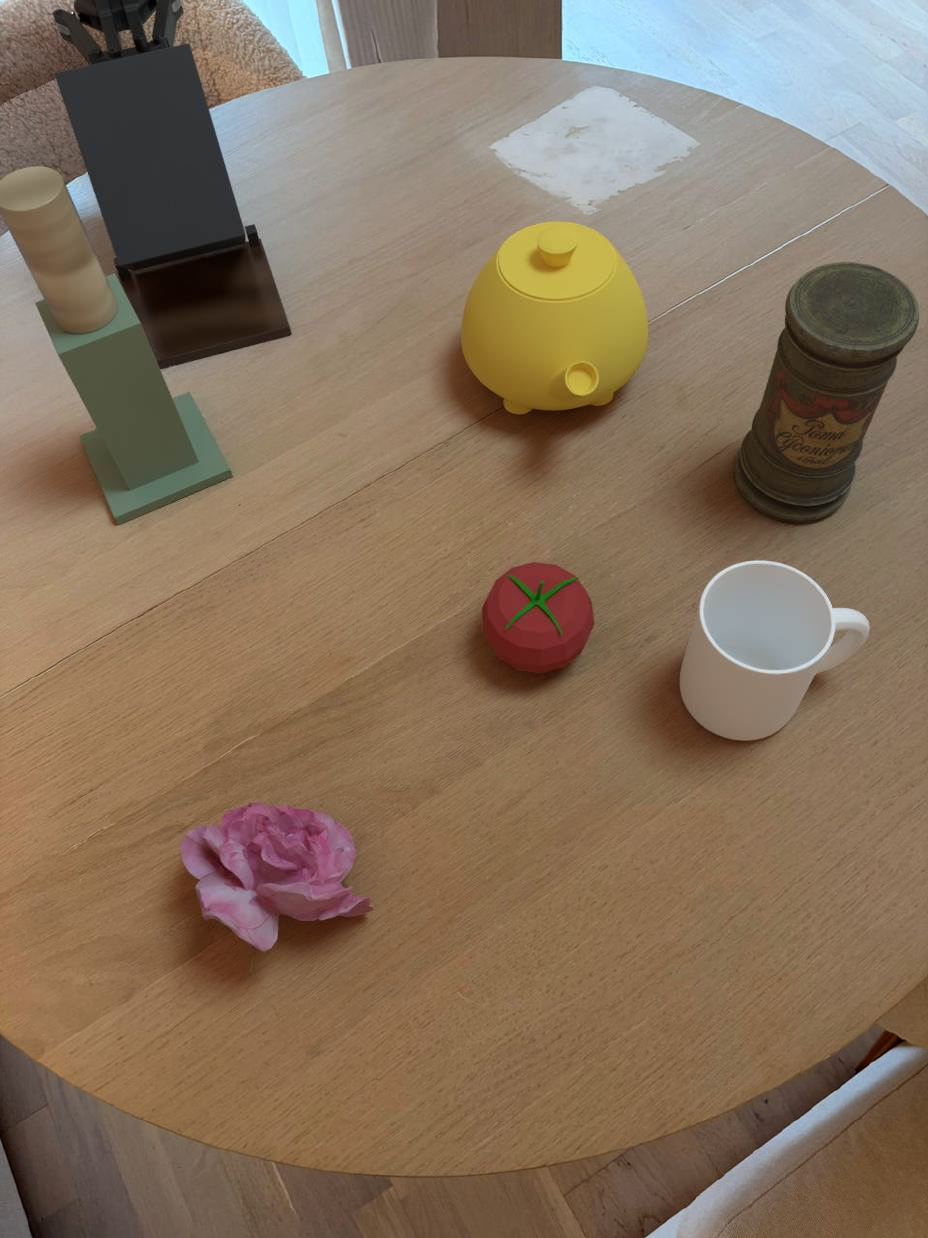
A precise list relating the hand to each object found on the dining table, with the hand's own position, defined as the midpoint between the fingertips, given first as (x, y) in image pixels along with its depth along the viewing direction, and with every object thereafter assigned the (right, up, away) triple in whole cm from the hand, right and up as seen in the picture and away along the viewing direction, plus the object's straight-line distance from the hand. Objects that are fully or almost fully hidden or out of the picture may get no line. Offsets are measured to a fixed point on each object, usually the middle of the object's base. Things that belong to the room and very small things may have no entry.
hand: (142, 98), depth 95 cm
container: (+56, -38, -14) cm, 69 cm away
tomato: (+35, -50, -20) cm, 65 cm away
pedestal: (+4, -35, -9) cm, 37 cm away
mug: (+51, -53, -23) cm, 78 cm away
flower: (+19, -66, -29) cm, 74 cm away
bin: (+5, -16, -3) cm, 17 cm away
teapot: (+38, -29, -7) cm, 48 cm away
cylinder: (+3, -27, -23) cm, 36 cm away
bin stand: (+6, -19, 0) cm, 20 cm away
